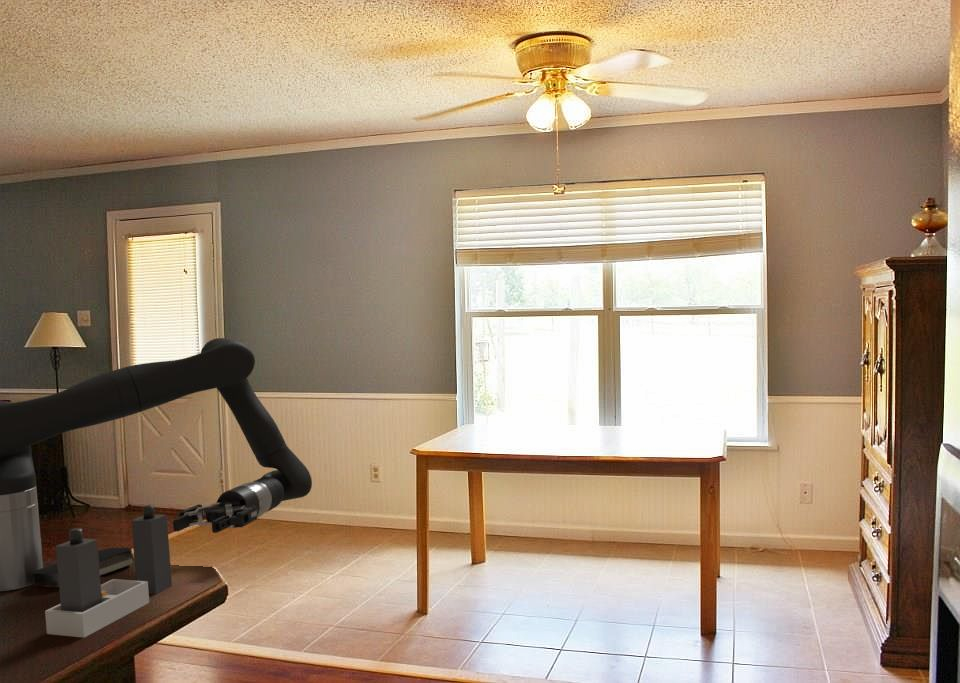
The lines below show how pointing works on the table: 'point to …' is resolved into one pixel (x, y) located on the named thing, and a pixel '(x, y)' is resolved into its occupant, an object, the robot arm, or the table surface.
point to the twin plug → (78, 573)
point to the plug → (152, 550)
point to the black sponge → (107, 563)
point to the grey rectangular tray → (99, 609)
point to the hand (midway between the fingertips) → (194, 526)
